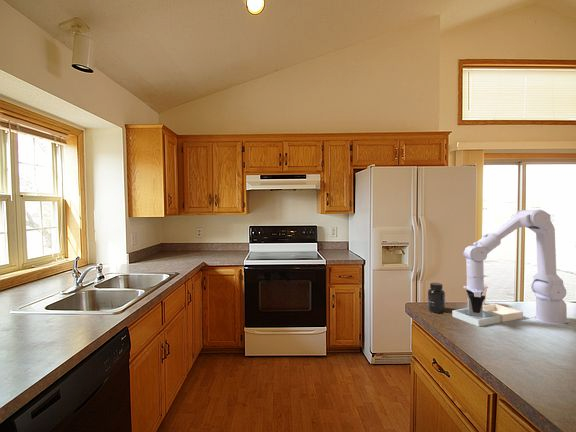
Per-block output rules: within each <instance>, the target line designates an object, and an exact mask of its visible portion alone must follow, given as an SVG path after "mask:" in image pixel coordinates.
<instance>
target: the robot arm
mask: <svg viewBox="0 0 576 432" xmlns="http://www.w3.org/2000/svg"><path fill="white" fill-rule="evenodd" d="M509 218H510V219H507V221H506V222H505V223H503V224H502V225H501V226H499V228H497V230H495V231H494V232H493V233H490V232H488V233H484V234H483V235H482V237H481V238H480V239H478V240H477V241H475V242H473V244H472V245H468V246H466V247H465V249H464V250H463V251H462V256H463V257H464V259H465V263H466V264H465V265H466V266H465V267H466V285H463V289H465V291H466V293H467V297H469V298H470V300H471V304H472V310H473V312H474V313H480V310H481V306H482V303H483V301H484V299H485V296H481V295H482V293H483V291H484V284H485V283H484V282H485V279H484V276H485V275H484V274H485V273H484V271H485V269H484V267H485V265H484V261H486V259H487V257H488V255H489V254H490V253H491V252H492V251H493V250H494V249H496V248H497V247H498V246H500V245H501V243H502V241H501V240H502V239H504V238H505V237H507V236H508V235H510V234H511V233H513V232H514V231H515V230H517V229H519V228H527V229H529V230H531V231H533V232H534V233H535V239H536V240H535V243H536V263H537V264H536V266H537V272H536V273H535V274H534V275H533V277H532V278H533V279H532V282H531V283H530V284H531V285H530V289H531V291H532V292H533V293H534V296H535V304H536V305H535V315H536V316H532V317H530V319H533V320H537V321H540V322H543V323H547V324H550V325H554V326H555V325H559V324H560V325H561V324H567V323H570V322H571V321H569V320H568V318H567V315H568V313H567V303H566V302H565V300H564V299H565V298H566V296H567V289H566V287H565V285H564V280H563V278H561V277H560V276H559V275H558V274H557V258H556V257H557V255H556V254H557V253H556V251H557V250H556V229H555V226H554V224H553V223H552V220H551V214H549V213H548V212H546V211H545V210H543V209H531V210H529V209H520V210H518V211H517V212H515V213H514V214H512V215H511V217H509ZM485 300H486V299H485Z"/></svg>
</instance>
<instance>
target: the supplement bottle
mask: <svg viewBox="0 0 576 432" xmlns="http://www.w3.org/2000/svg"><path fill="white" fill-rule="evenodd" d="M429 285H430V286H429V289H428V290H427V309H428V311H429V312H431V313H434V314H444V312H446V292H445V291H444V290H443V284H442V283H440V282H430V284H429Z"/></svg>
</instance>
